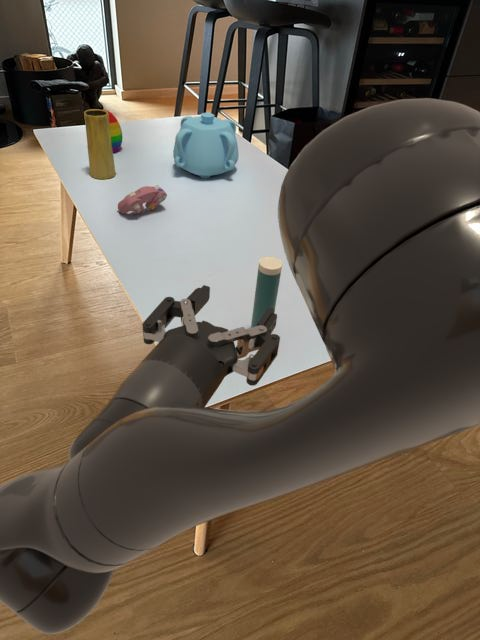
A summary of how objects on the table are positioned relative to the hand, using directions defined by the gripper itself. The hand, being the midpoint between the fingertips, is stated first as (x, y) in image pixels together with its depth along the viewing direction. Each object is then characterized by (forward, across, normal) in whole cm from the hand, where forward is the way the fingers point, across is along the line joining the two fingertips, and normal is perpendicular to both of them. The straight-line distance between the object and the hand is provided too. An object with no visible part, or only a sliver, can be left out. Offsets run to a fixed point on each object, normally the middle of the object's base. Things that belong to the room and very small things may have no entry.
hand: (238, 302), depth 56 cm
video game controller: (+35, +38, +14) cm, 53 cm away
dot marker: (+11, 0, +14) cm, 17 cm away
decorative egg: (+59, +66, +14) cm, 89 cm away
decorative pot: (+63, +38, +14) cm, 75 cm away
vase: (+45, +57, +14) cm, 74 cm away
